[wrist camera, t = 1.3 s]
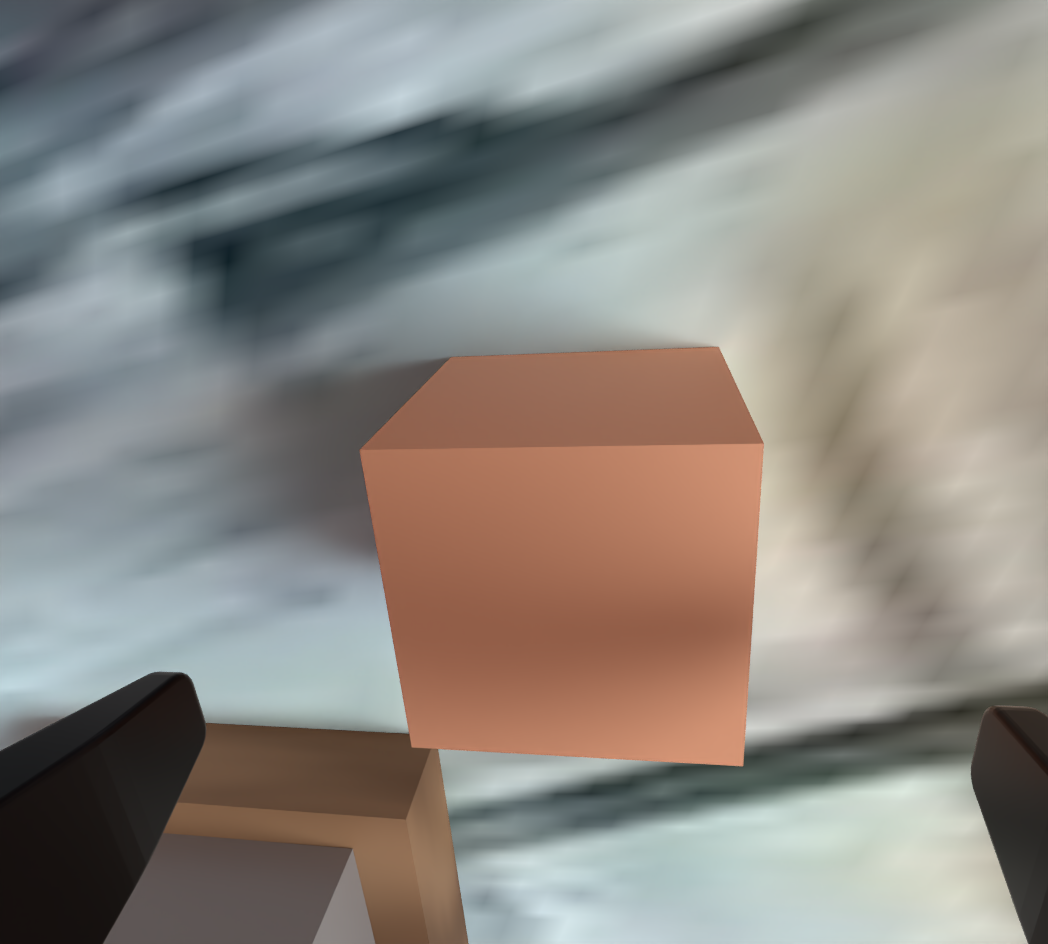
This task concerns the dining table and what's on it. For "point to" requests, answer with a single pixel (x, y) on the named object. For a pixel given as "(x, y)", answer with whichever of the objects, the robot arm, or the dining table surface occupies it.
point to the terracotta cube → (572, 554)
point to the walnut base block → (338, 814)
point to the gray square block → (245, 895)
